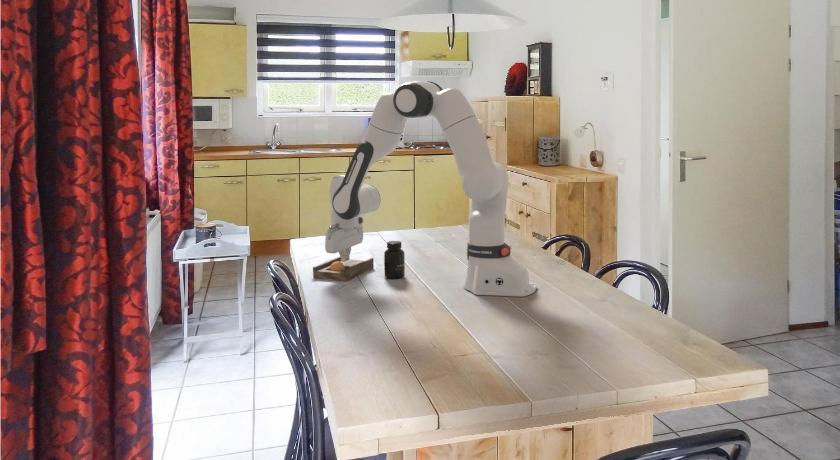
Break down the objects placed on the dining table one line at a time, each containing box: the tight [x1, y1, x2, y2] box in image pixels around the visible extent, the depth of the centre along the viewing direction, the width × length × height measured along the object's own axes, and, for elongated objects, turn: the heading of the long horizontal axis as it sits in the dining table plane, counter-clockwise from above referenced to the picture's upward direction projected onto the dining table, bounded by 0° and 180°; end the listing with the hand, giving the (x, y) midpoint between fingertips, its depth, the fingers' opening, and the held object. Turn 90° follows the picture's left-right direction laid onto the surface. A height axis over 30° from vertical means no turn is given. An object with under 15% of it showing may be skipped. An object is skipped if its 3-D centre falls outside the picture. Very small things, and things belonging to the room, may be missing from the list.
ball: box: [330, 261, 345, 272], centre depth 228 cm, size 5×5×5 cm
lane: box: [312, 255, 375, 282], centre depth 232 cm, size 13×19×4 cm
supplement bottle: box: [383, 240, 406, 280], centre depth 225 cm, size 7×7×12 cm
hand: (345, 260), depth 232 cm, fingers closed
